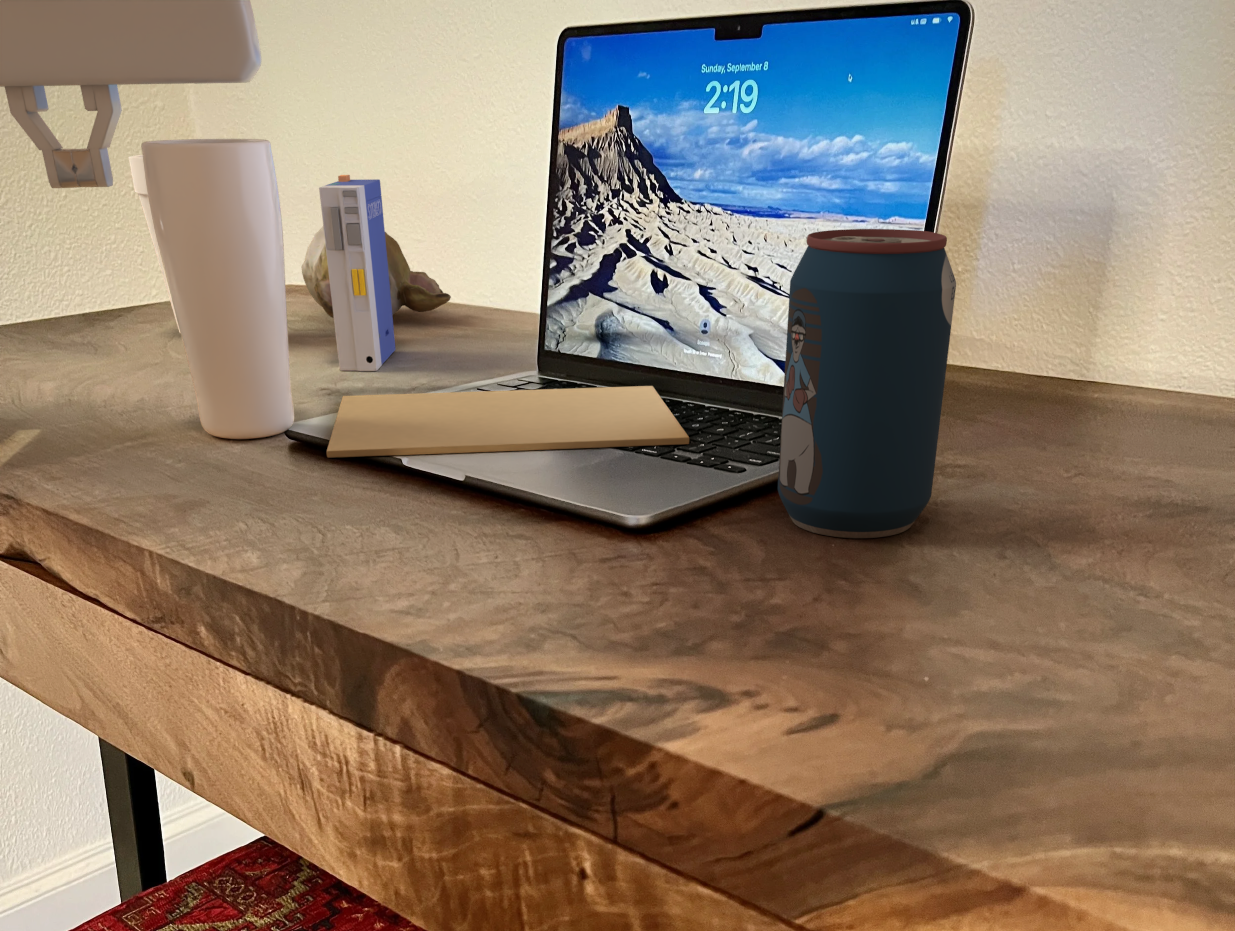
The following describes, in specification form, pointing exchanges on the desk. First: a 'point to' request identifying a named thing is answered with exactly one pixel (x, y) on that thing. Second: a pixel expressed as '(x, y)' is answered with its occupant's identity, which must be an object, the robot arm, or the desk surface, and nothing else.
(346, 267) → the walkman
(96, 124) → the robot arm
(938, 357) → the soda can
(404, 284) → the ceramic sculpture
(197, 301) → the white tumbler
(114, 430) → the desk surface
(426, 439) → the cork mat
